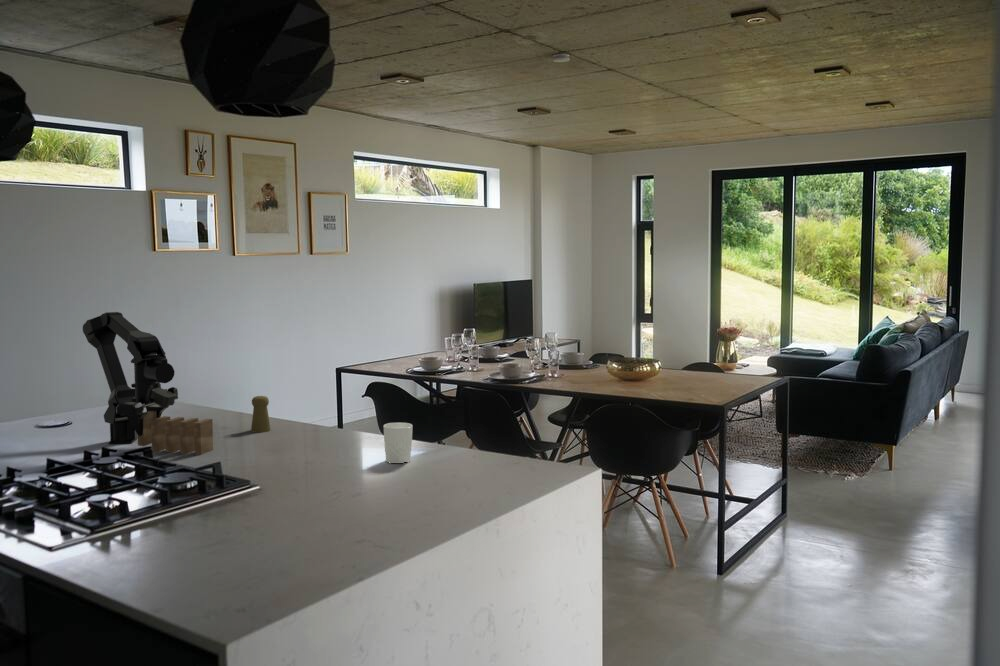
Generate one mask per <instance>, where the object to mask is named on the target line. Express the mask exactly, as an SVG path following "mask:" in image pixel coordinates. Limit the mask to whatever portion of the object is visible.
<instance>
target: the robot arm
mask: <svg viewBox="0 0 1000 666" xmlns="http://www.w3.org/2000/svg"><path fill="white" fill-rule="evenodd" d="M82 332H83V334H84V336H85V338H86V341H87V343H89V344H90V345H91V346H92V347H93V348H95V349H96V352H97V355H98V358H99V360H100V362H101V363H100V364H101V367H102V369H103V373H104V375H105V379H106V381H107V384H108V387H109V391H110V394H109V397H108V400H107V405H108V407H107V409H106V410H105V412H104V413H103V419H104V423H107V424H109V430H110V431H109V435H110V436H109V437H110V439H109V441H108V444H132V443H134V442H135V441H137V440H138V436H142V433H143V418H144V417H145V415H146V414H147V411H157V418H160V417H162V414H163V412H164V411H165V410H166V409H168V408H169V407H170V406H174V404H176V403H175V401H176V400H178V399H179V392H178V388H177V387H174V386H172V387H171V386H170V387H169V388H168V389H167V388H165V389H164V388H162V385H161V384H167V383H170V382H171V381H173V378H174V377H175V368H174V367H173V365H172V364H170V363H168V358H167V356H166V354H167V353H166V352H165V350H164V349H163V346H162V345H161V342H160V340H159V338H158V337H157V336H155V335H154V334H151V333H150V332H145V331H142V330H140V329H138V328H137V327H136V326H135V325H134V324H133V323H131V322H130V321H129V320H128V319H126V318H125V317H124V316H123V313H122V312H119V311H112V312H111V311H110V312H107V311H106V312H104V313H102V314H100V315H98V316H96V317H93V318H90V319H87V320H85V322H84V323H83V325H82ZM117 336H118V337H119V338H120V339H122V340H123V341H124V342H125V343H126V344H127V347H126V349H127V350H128V352H129V353H130V354H131V355H132V356H133V358H132V359H131V360H130V363H131V364H133V367H134V369H133V372H134V382H133V383H131V386H129V384H128V382H127V378H126V376H125V373H124V370H123V367H122V364H121V361H120V358H119V355H118V353H117V349H116V347H115V341H116V338H117ZM144 409H145V410H146V411H144Z"/></svg>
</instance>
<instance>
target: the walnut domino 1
mask: <svg viewBox="0 0 1000 666" xmlns="http://www.w3.org/2000/svg"><path fill="white" fill-rule="evenodd" d="M146 412H147V414H146V415H145V417H144V418H143V433H142V436H138V439H137V446H139V447H145V446H148V445H152V434H151V420H154V419H157V411H147V410H146Z"/></svg>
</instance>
